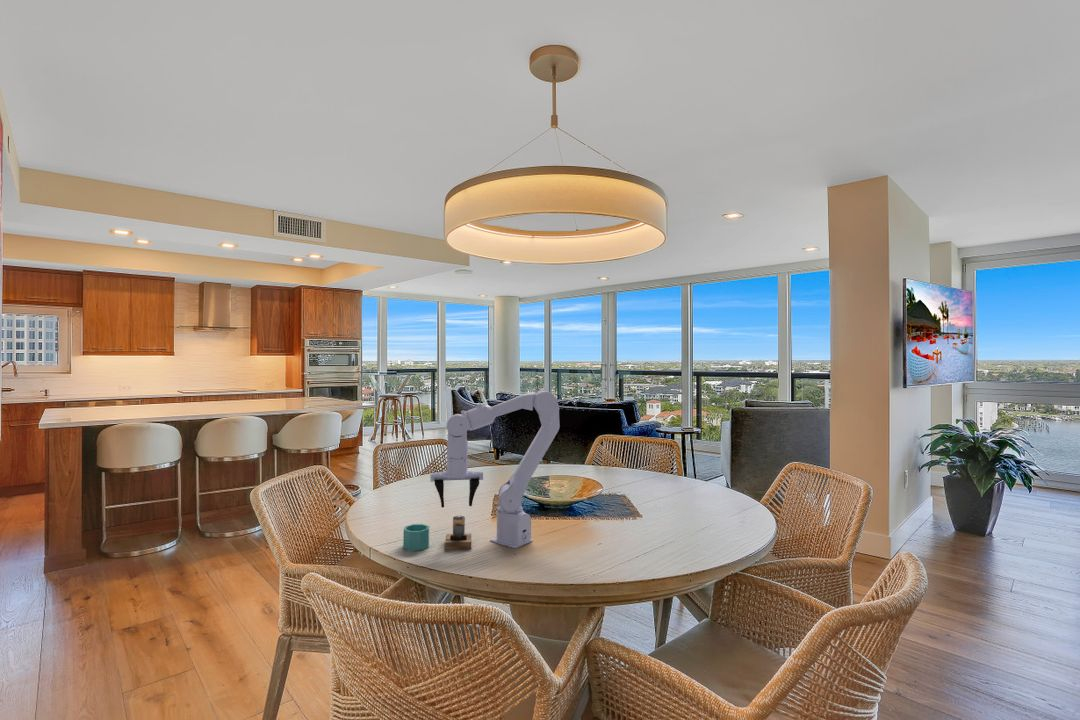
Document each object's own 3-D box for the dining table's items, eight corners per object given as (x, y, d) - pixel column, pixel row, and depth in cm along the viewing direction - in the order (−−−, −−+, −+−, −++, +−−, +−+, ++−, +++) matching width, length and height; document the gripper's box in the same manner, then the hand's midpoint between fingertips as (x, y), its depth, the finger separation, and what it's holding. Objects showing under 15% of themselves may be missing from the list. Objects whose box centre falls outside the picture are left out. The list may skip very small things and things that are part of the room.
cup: (433, 545, 146) (434, 527, 146) (414, 552, 141) (414, 533, 141) (418, 540, 150) (418, 522, 150) (398, 546, 145) (399, 528, 145)
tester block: (471, 540, 151) (471, 532, 151) (471, 549, 144) (471, 541, 144) (446, 541, 150) (446, 533, 150) (444, 549, 143) (445, 541, 143)
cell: (466, 545, 147) (467, 515, 147) (458, 548, 145) (458, 518, 145) (458, 542, 149) (459, 513, 149) (450, 545, 147) (450, 516, 147)
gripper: (481, 454, 156) (481, 501, 156) (430, 455, 153) (430, 503, 153) (484, 458, 149) (483, 507, 149) (430, 460, 146) (430, 510, 146)
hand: (456, 505), depth 150 cm, fingers open, 7 cm apart
